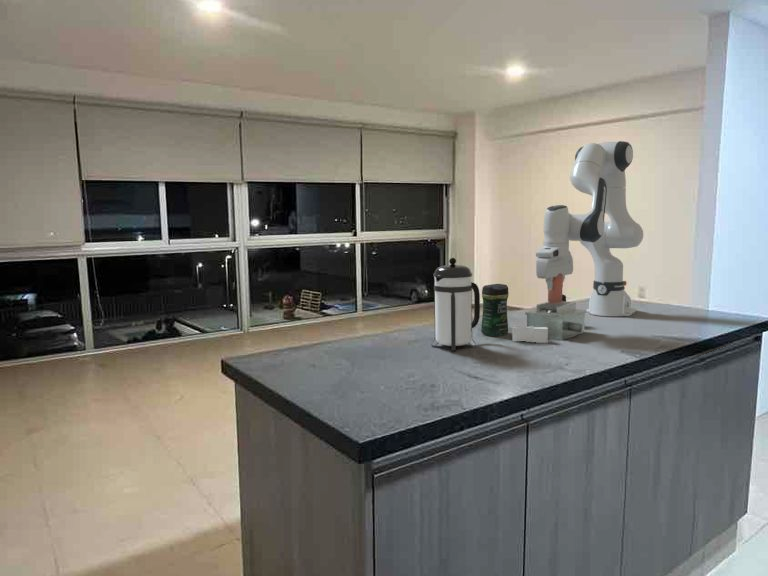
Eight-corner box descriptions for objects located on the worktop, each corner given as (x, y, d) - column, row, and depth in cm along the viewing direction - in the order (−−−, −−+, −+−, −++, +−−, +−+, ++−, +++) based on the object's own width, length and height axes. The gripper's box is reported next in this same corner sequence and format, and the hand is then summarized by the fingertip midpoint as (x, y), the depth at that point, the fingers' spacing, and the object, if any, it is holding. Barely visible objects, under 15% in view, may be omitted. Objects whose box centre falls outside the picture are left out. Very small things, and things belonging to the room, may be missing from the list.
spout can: (552, 300, 202) (552, 265, 200) (564, 301, 199) (565, 266, 197) (545, 301, 199) (545, 266, 197) (557, 303, 195) (558, 267, 193)
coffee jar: (493, 337, 194) (493, 286, 192) (477, 334, 201) (477, 284, 198) (512, 333, 200) (512, 283, 197) (496, 330, 206) (496, 281, 204)
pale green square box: (549, 326, 210) (549, 299, 208) (595, 333, 197) (596, 304, 195) (525, 334, 198) (525, 305, 197) (572, 341, 185) (573, 311, 184)
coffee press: (478, 352, 175) (478, 259, 170) (428, 351, 178) (427, 260, 174) (479, 340, 191) (479, 255, 187) (434, 339, 195) (433, 255, 191)
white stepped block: (503, 342, 189) (503, 326, 188) (521, 336, 197) (521, 321, 196) (541, 349, 178) (541, 332, 177) (559, 343, 186) (559, 327, 185)
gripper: (562, 248, 205) (561, 285, 207) (533, 252, 192) (532, 291, 193) (578, 249, 201) (577, 286, 203) (549, 253, 187) (548, 292, 189)
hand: (555, 288), depth 198 cm, fingers closed on spout can, 5 cm apart
